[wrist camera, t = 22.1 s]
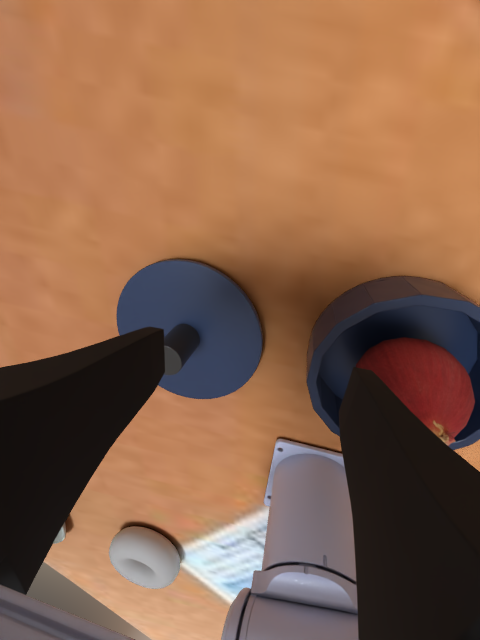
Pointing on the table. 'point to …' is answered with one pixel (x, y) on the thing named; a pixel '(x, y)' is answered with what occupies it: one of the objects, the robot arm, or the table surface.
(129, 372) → the robot arm
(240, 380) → the lid
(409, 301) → the pot
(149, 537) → the donut
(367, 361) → the onion
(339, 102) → the table surface
